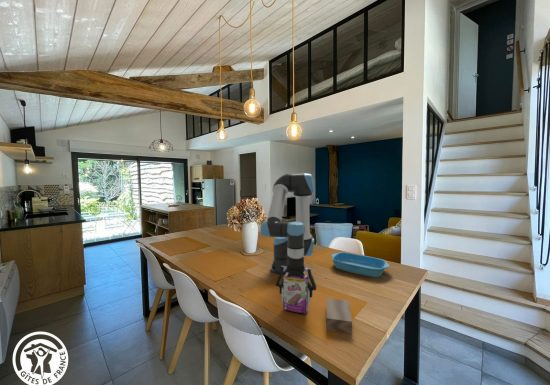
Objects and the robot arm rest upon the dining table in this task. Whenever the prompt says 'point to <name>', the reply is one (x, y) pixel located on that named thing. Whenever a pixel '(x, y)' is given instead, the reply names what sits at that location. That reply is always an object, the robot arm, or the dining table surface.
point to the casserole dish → (359, 264)
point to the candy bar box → (295, 293)
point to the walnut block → (338, 316)
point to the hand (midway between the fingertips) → (295, 302)
